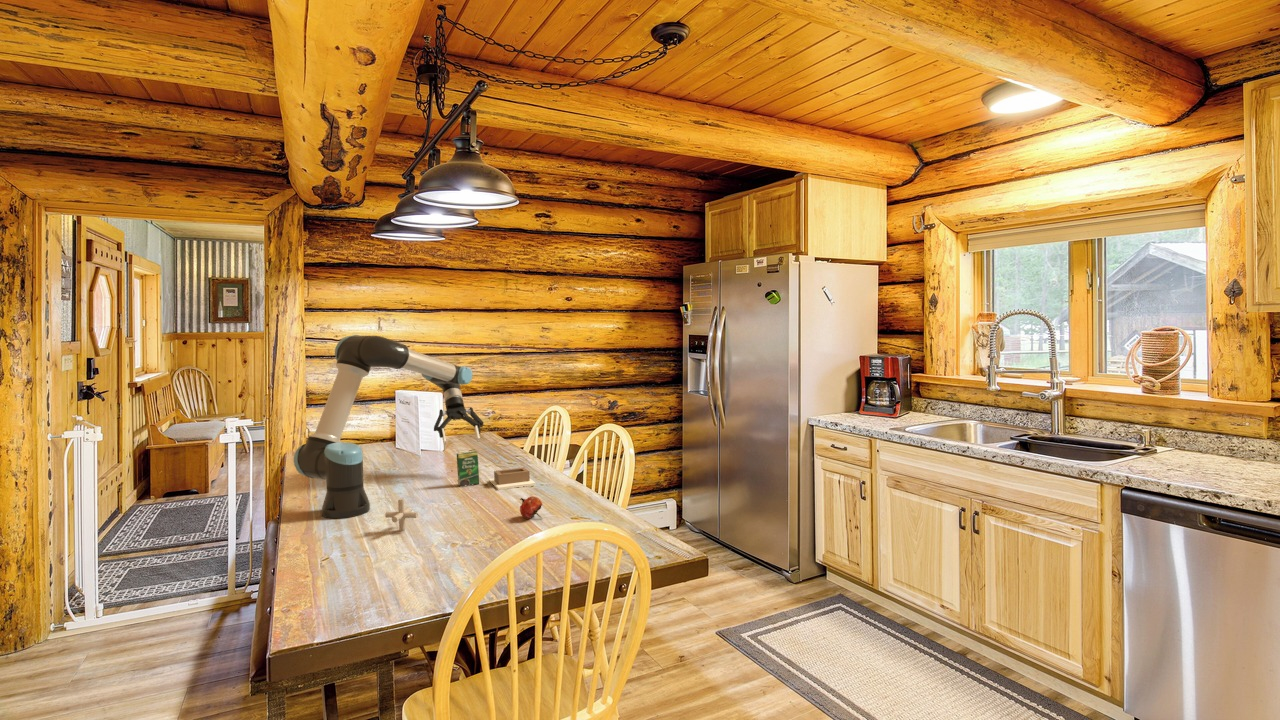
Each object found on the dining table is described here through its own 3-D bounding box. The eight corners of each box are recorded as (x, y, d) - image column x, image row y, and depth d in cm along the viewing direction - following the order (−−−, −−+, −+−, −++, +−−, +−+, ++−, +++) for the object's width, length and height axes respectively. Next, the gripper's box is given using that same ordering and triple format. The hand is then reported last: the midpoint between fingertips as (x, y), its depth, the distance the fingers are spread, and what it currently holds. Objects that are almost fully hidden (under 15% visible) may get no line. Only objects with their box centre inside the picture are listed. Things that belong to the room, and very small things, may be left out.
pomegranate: (544, 521, 218) (525, 501, 221) (553, 507, 215) (533, 486, 218) (530, 530, 212) (510, 509, 215) (539, 515, 209) (518, 494, 212)
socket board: (535, 485, 257) (535, 472, 256) (498, 490, 250) (497, 477, 250) (524, 477, 270) (524, 465, 270) (488, 481, 263) (488, 469, 263)
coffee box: (459, 487, 255) (457, 454, 254) (457, 485, 258) (456, 453, 257) (479, 484, 259) (478, 452, 258) (477, 483, 261) (476, 450, 261)
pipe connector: (424, 525, 208) (423, 495, 208) (410, 536, 198) (409, 504, 198) (394, 525, 209) (393, 494, 209) (379, 535, 199) (378, 503, 199)
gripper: (481, 404, 287) (490, 443, 275) (423, 408, 276) (429, 449, 264) (484, 393, 282) (493, 433, 270) (424, 397, 271) (431, 439, 259)
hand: (462, 441), depth 267 cm, fingers open, 13 cm apart
